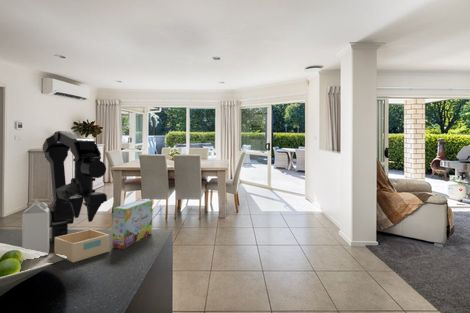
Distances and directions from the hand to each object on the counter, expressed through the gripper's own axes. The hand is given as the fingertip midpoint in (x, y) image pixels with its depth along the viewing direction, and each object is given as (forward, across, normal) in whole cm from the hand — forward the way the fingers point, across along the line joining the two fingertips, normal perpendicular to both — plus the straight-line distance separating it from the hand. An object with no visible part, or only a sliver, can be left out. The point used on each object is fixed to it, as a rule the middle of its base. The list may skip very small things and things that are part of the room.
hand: (83, 219), depth 106 cm
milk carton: (+12, -11, -10) cm, 19 cm away
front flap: (+12, +6, 0) cm, 13 cm away
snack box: (+12, +3, +20) cm, 23 cm away
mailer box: (+12, 0, 0) cm, 12 cm away
